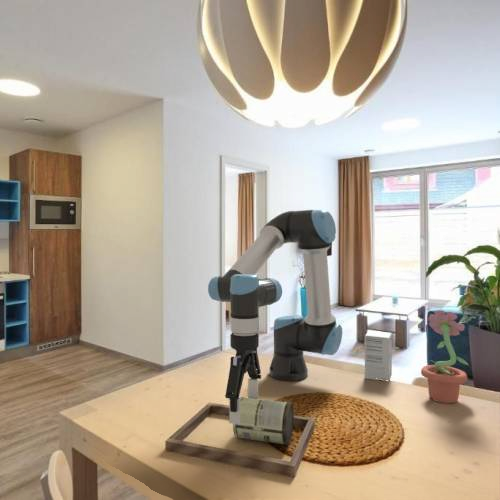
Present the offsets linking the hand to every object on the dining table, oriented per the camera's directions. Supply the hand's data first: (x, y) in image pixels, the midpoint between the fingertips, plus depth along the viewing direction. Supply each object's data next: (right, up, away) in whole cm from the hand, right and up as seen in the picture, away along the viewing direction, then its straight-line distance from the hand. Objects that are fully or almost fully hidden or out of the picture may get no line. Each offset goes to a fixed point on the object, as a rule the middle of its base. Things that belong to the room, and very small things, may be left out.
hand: (244, 412), depth 103 cm
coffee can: (-2, -2, +2) cm, 3 cm away
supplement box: (+52, -6, +48) cm, 71 cm away
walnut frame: (0, -7, 0) cm, 7 cm away
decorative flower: (+66, -7, +26) cm, 72 cm away
